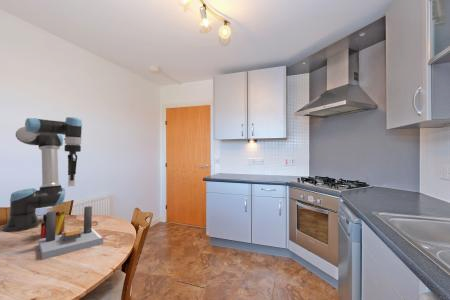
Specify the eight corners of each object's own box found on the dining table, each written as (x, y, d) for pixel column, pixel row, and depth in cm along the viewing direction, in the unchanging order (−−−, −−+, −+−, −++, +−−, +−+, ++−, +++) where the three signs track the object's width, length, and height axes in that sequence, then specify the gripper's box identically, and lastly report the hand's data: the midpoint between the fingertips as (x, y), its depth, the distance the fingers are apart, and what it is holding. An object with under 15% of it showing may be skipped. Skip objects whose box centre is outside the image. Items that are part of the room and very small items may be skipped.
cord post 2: (82, 232, 117) (83, 207, 117) (90, 230, 119) (91, 205, 120) (84, 234, 114) (85, 208, 115) (92, 232, 117) (92, 207, 117)
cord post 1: (45, 240, 105) (46, 212, 106) (54, 238, 108) (55, 210, 108) (46, 242, 103) (47, 213, 103) (55, 240, 105) (56, 212, 106)
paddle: (62, 235, 110) (62, 232, 110) (76, 232, 114) (76, 229, 115) (66, 236, 102) (66, 232, 102) (81, 232, 106) (81, 229, 106)
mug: (40, 242, 110) (41, 219, 110) (43, 234, 121) (44, 213, 121) (63, 238, 115) (64, 216, 116) (64, 231, 126) (65, 211, 127)
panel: (38, 245, 106) (39, 231, 107) (92, 233, 123) (93, 221, 124) (42, 259, 92) (43, 243, 93) (103, 243, 109) (103, 230, 110)
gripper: (63, 144, 122) (61, 184, 122) (66, 144, 113) (64, 188, 112) (78, 144, 127) (76, 183, 127) (83, 145, 118) (81, 187, 118)
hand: (71, 185), depth 120 cm, fingers closed
